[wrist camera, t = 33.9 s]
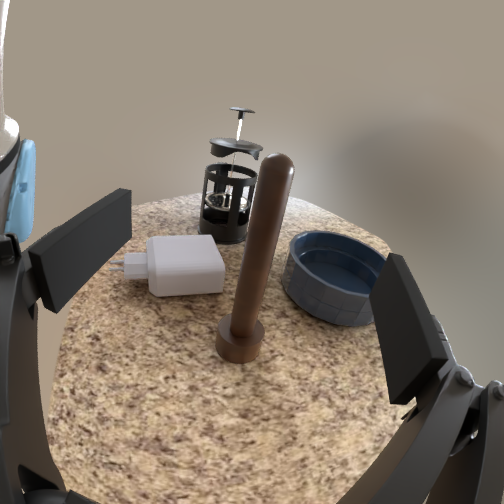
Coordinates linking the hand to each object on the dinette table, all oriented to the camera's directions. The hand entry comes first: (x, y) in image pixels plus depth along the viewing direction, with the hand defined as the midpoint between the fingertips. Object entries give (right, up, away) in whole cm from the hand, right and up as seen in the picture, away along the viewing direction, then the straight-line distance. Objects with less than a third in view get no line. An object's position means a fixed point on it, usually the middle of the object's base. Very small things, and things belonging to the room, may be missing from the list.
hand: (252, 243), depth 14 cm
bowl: (+13, -7, +30) cm, 34 cm away
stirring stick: (-2, -11, +18) cm, 21 cm away
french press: (-6, +3, +41) cm, 41 cm away
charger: (-13, -4, +26) cm, 29 cm away
